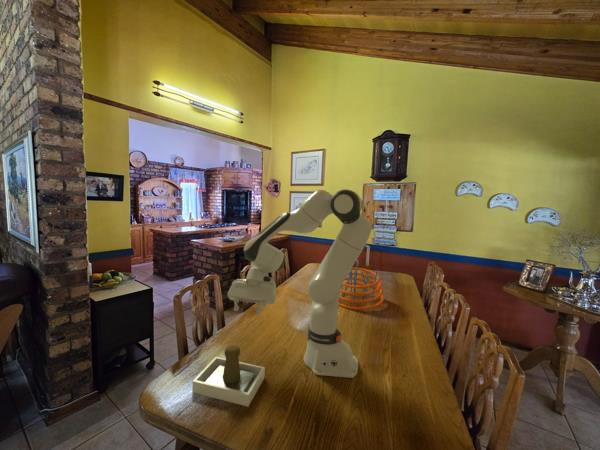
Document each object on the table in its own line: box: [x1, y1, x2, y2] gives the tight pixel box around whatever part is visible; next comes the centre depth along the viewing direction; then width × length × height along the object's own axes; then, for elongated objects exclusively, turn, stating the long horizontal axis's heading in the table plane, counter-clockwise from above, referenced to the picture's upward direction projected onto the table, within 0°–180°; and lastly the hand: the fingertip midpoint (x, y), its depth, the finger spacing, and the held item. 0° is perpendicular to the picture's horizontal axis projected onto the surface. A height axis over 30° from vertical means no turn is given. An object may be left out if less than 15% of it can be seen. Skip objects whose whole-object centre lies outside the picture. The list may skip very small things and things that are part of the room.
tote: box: [192, 356, 266, 408], centre depth 90 cm, size 20×14×5 cm
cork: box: [223, 344, 241, 383], centre depth 90 cm, size 6×6×11 cm
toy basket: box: [338, 263, 385, 311], centre depth 175 cm, size 34×35×24 cm
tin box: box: [206, 365, 255, 392], centre depth 90 cm, size 14×10×2 cm
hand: (246, 311), depth 104 cm, fingers open, 8 cm apart
